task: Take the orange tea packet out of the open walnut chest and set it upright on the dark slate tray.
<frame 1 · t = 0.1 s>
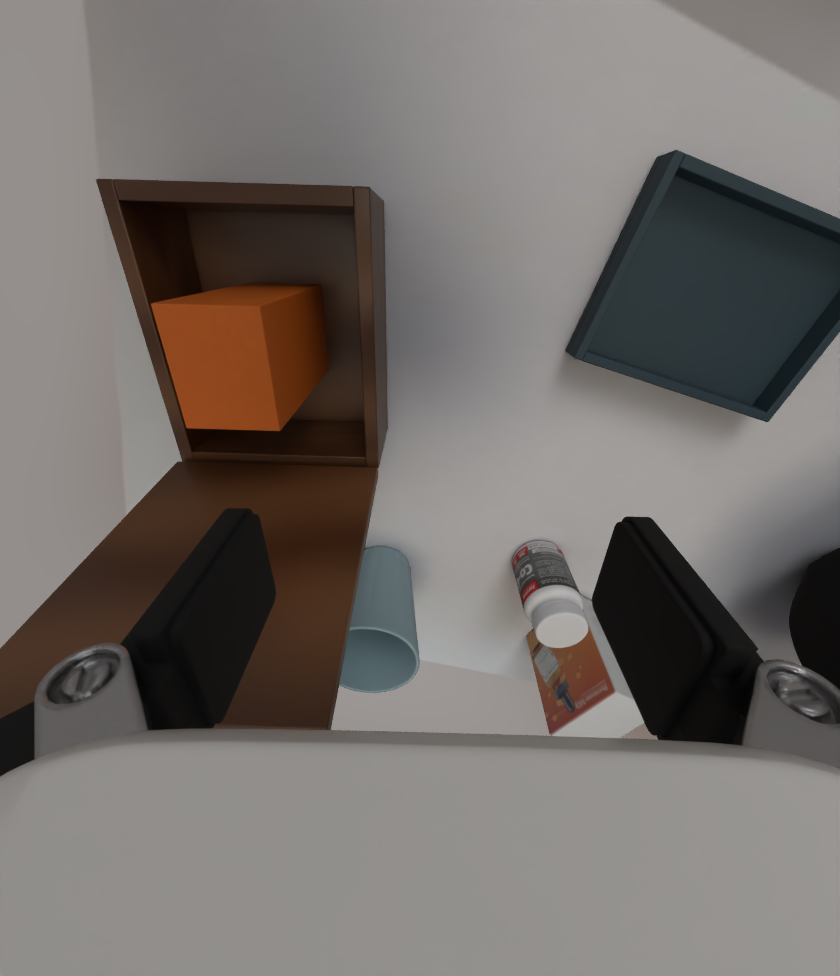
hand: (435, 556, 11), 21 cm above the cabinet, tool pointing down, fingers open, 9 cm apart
chest: (295, 326, 28), on the cabinet
lid: (240, 587, 21), point 15 cm above the cabinet, hinge at 95.0°
small box: (568, 622, 43), on the cabinet
tray: (709, 302, 27), on the cabinet
pill bottle: (536, 557, 39), on the cabinet
cup: (382, 566, 39), on the cabinet
table lamp: (833, 566, 38), on the cabinet
packet: (292, 328, 27), point 1 cm above the cabinet, touching chest
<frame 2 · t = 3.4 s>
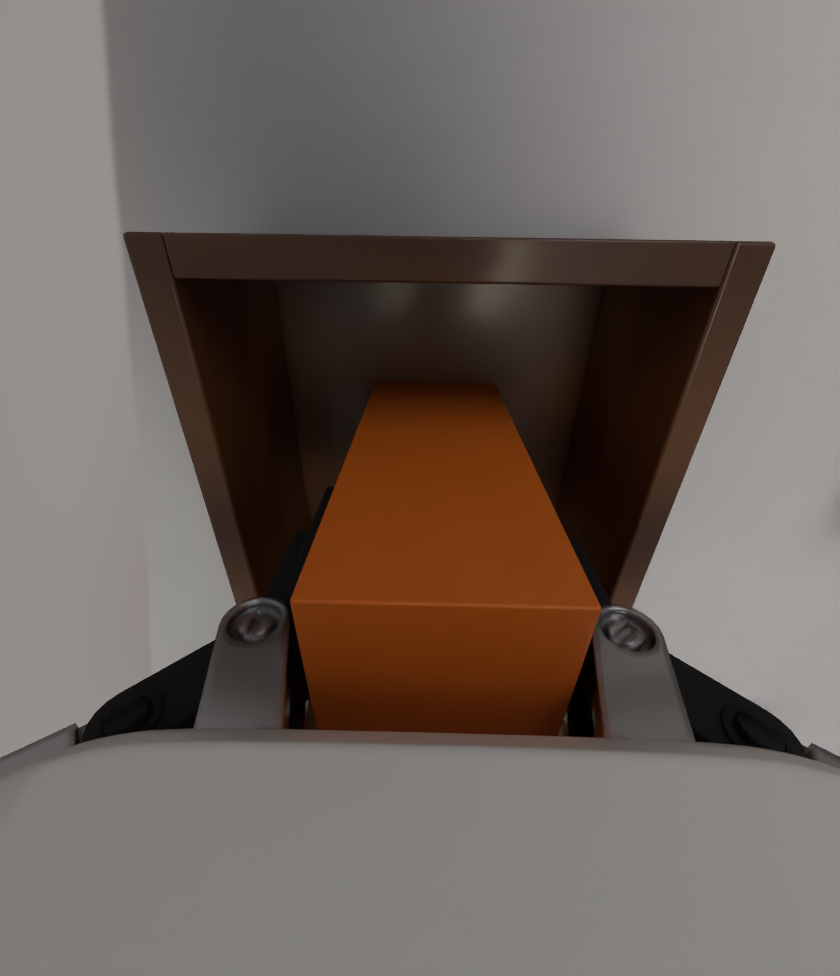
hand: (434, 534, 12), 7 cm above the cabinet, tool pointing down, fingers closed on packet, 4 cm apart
chest: (432, 440, 17), on the cabinet
packet: (433, 448, 17), point 1 cm above the cabinet, touching chest, gripper
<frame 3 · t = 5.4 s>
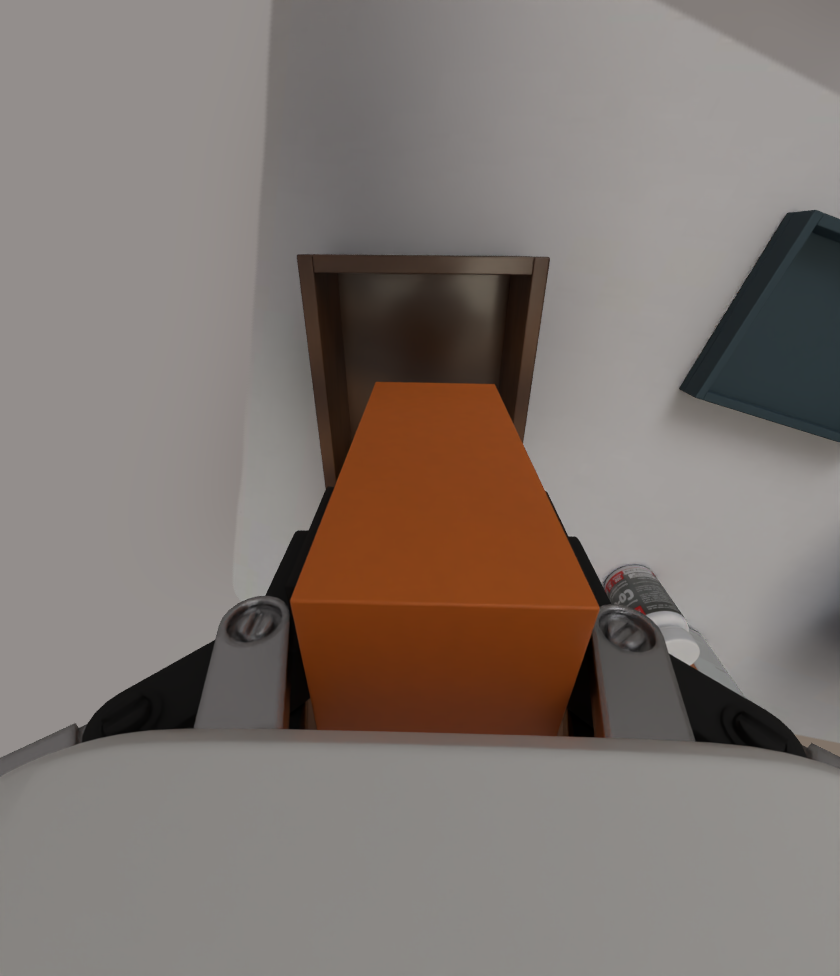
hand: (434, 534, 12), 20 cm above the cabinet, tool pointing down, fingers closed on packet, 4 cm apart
chest: (422, 370, 30), on the cabinet
lid: (417, 627, 22), point 15 cm above the cabinet, hinge at 95.0°
small box: (651, 642, 44), on the cabinet
tray: (823, 342, 28), on the cabinet
pill bottle: (627, 581, 40), on the cabinet
packet: (432, 448, 17), point 15 cm above the cabinet, touching gripper
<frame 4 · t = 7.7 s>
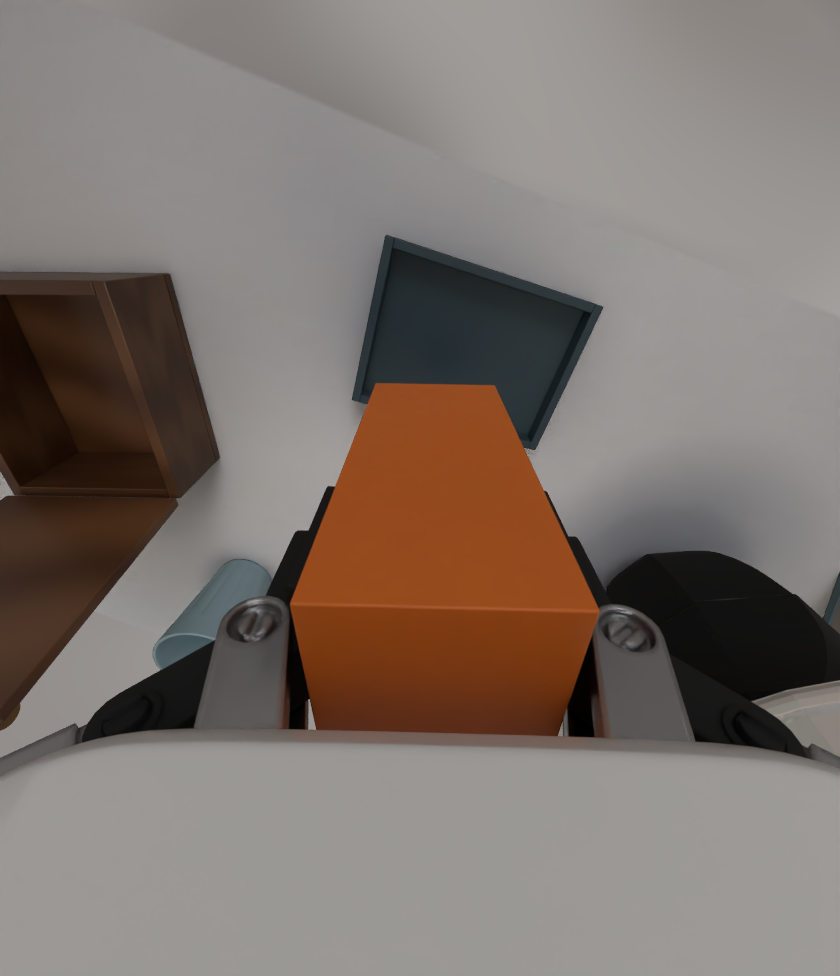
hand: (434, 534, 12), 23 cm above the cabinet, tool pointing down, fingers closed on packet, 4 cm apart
chest: (120, 375, 33), on the cabinet
lid: (26, 604, 25), point 15 cm above the cabinet, hinge at 95.0°
tray: (467, 350, 31), on the cabinet
cup: (246, 577, 44), on the cabinet
table lamp: (648, 571, 43), on the cabinet
packet: (432, 450, 17), point 17 cm above the cabinet, touching gripper
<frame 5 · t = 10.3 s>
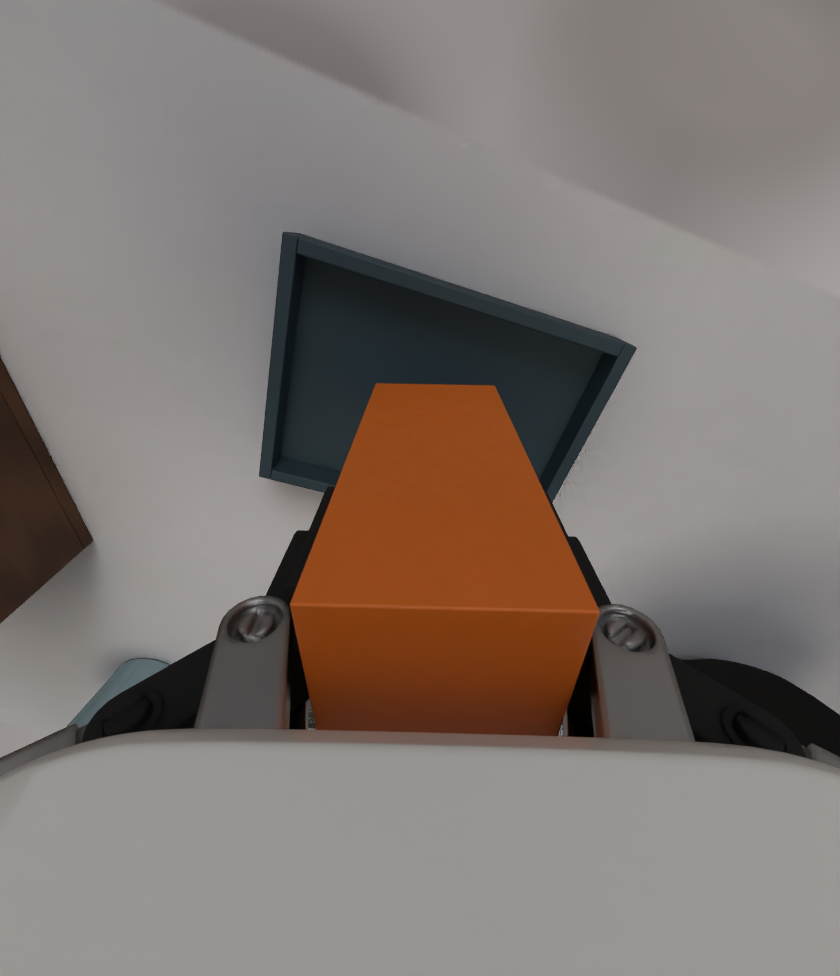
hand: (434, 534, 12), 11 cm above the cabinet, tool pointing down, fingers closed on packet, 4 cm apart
tray: (430, 403, 21), on the cabinet
cup: (155, 676, 34), on the cabinet
table lamp: (678, 675, 33), on the cabinet
packet: (433, 450, 17), point 5 cm above the cabinet, touching gripper
when the fingers open (6 cm above the cabinet, at t = 11.9 s): packet stays where it is, resting on tray.
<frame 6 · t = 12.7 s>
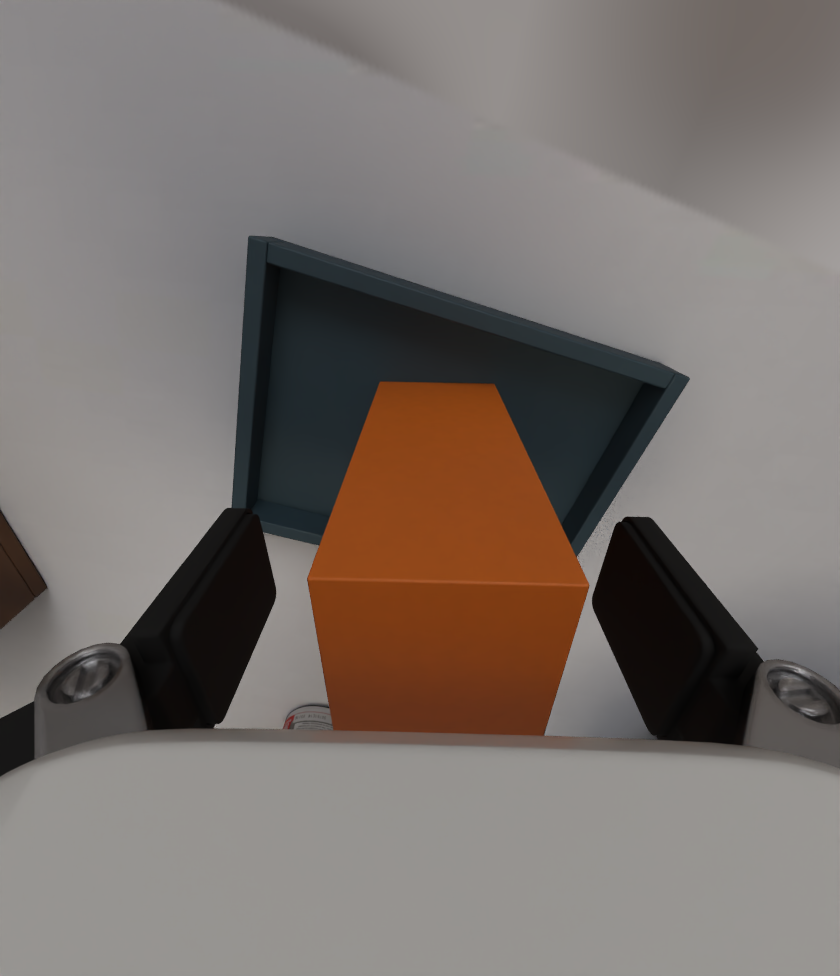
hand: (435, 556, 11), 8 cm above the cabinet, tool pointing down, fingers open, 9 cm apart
tray: (433, 438, 18), on the cabinet
pill bottle: (320, 720, 29), on the cabinet
packet: (434, 446, 17), point 1 cm above the cabinet, touching tray
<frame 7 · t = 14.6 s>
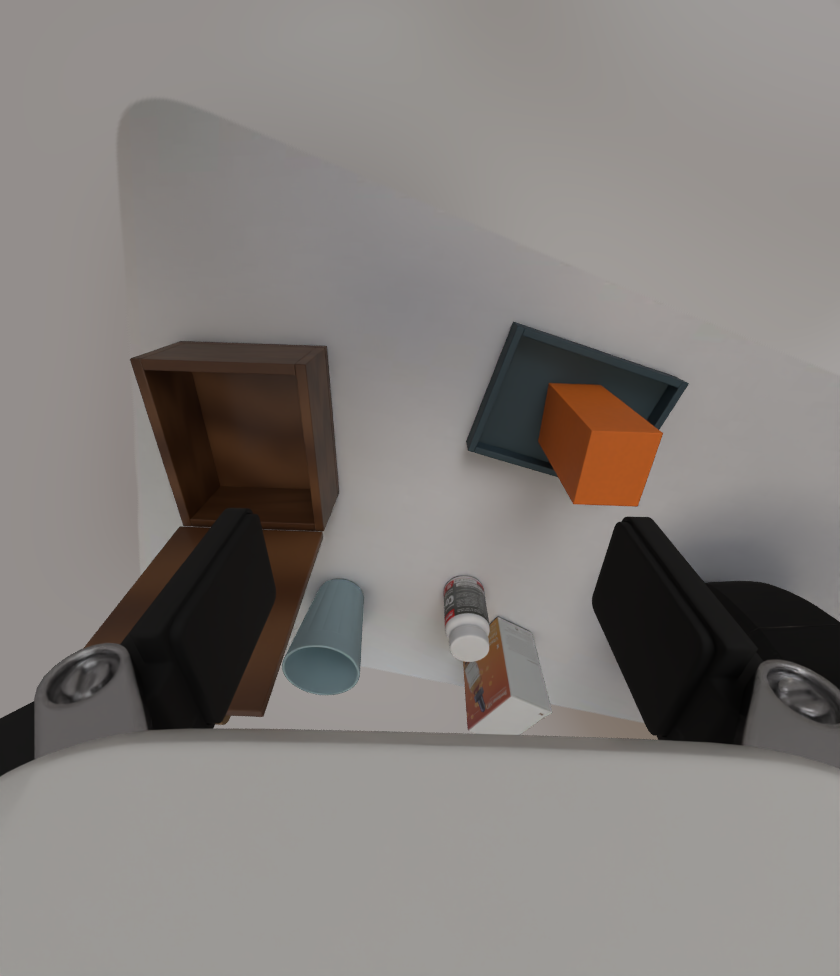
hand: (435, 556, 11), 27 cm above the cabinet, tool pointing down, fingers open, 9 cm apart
chest: (267, 423, 38), on the cabinet
lid: (220, 620, 31), point 15 cm above the cabinet, hinge at 95.0°
small box: (495, 640, 53), on the cabinet
tray: (566, 410, 37), on the cabinet
pill bottle: (463, 588, 48), on the cabinet
cup: (341, 594, 49), on the cabinet
table lamp: (700, 597, 48), on the cabinet
packet: (568, 414, 37), point 1 cm above the cabinet, touching tray
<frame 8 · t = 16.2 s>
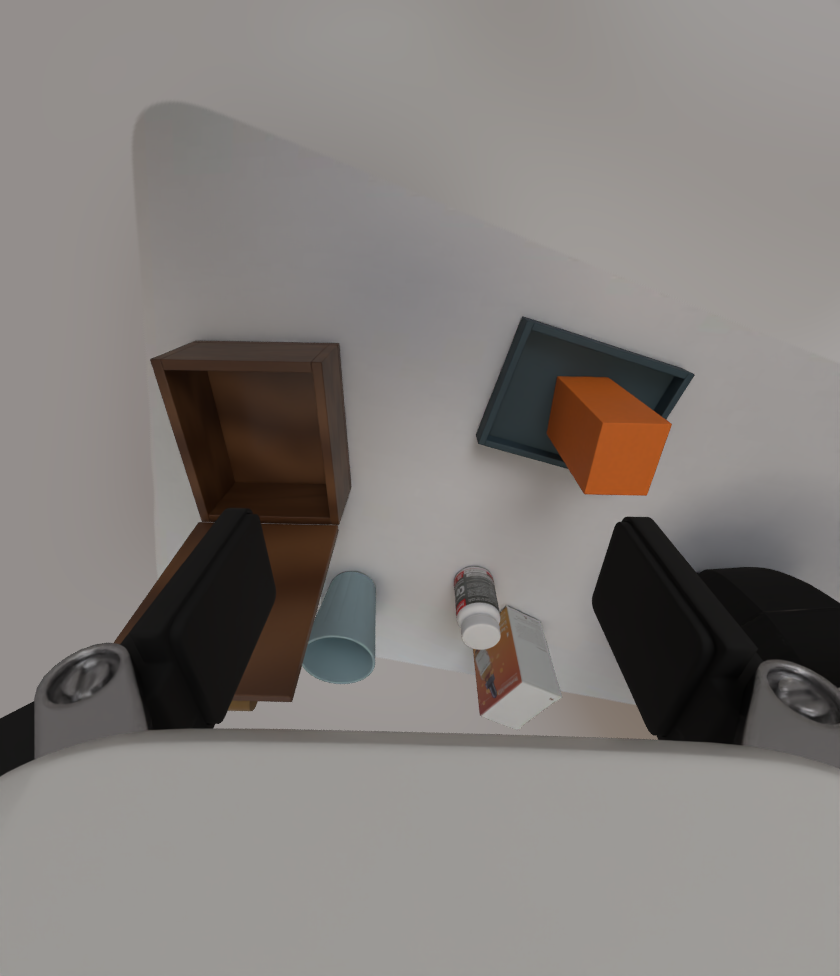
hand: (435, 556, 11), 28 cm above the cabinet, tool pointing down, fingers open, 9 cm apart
chest: (280, 420, 39), on the cabinet
lid: (243, 612, 32), point 15 cm above the cabinet, hinge at 95.0°
small box: (504, 628, 54), on the cabinet
tray: (573, 403, 38), on the cabinet
pill bottle: (473, 578, 49), on the cabinet
cup: (353, 586, 50), on the cabinet
table lamp: (705, 583, 49), on the cabinet
packet: (576, 406, 37), point 1 cm above the cabinet, touching tray
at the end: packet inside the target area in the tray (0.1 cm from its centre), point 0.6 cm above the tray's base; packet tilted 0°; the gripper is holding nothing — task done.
